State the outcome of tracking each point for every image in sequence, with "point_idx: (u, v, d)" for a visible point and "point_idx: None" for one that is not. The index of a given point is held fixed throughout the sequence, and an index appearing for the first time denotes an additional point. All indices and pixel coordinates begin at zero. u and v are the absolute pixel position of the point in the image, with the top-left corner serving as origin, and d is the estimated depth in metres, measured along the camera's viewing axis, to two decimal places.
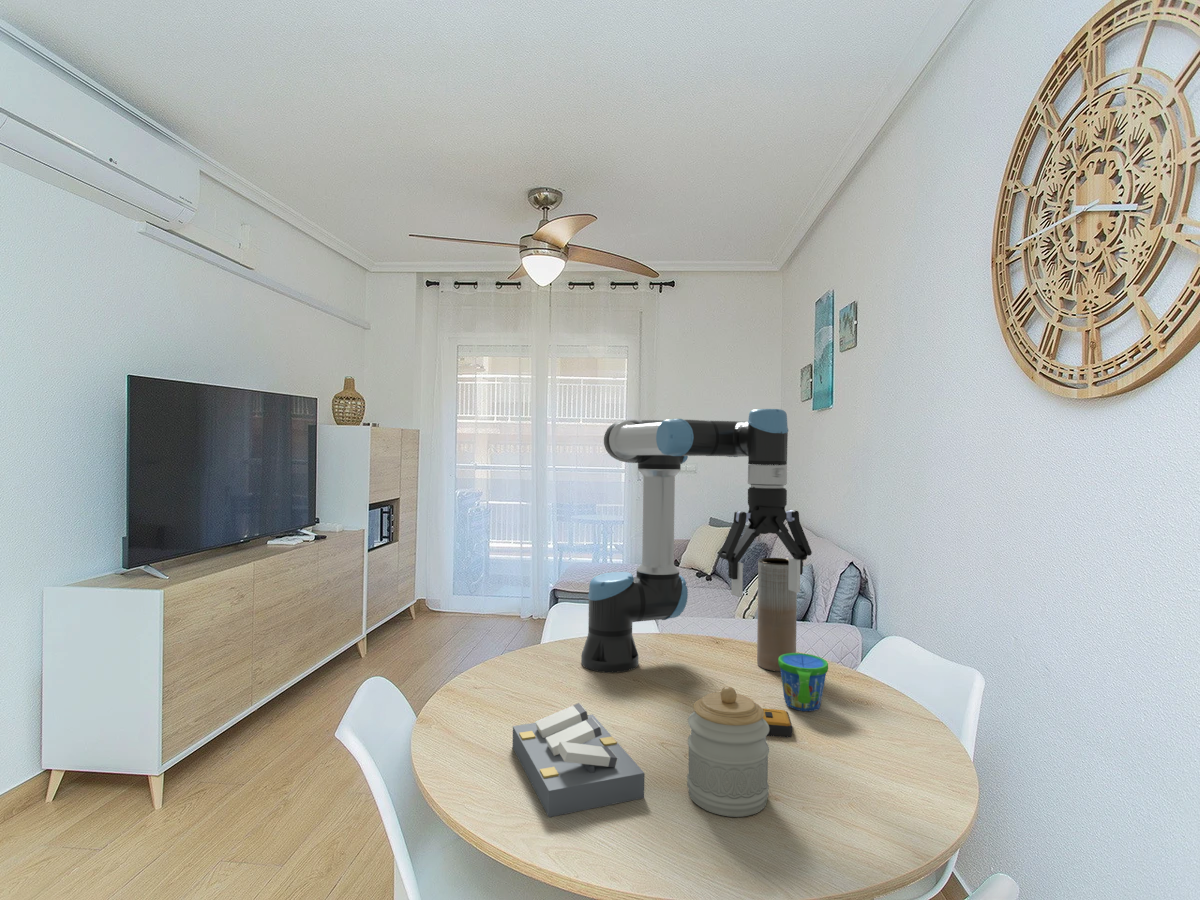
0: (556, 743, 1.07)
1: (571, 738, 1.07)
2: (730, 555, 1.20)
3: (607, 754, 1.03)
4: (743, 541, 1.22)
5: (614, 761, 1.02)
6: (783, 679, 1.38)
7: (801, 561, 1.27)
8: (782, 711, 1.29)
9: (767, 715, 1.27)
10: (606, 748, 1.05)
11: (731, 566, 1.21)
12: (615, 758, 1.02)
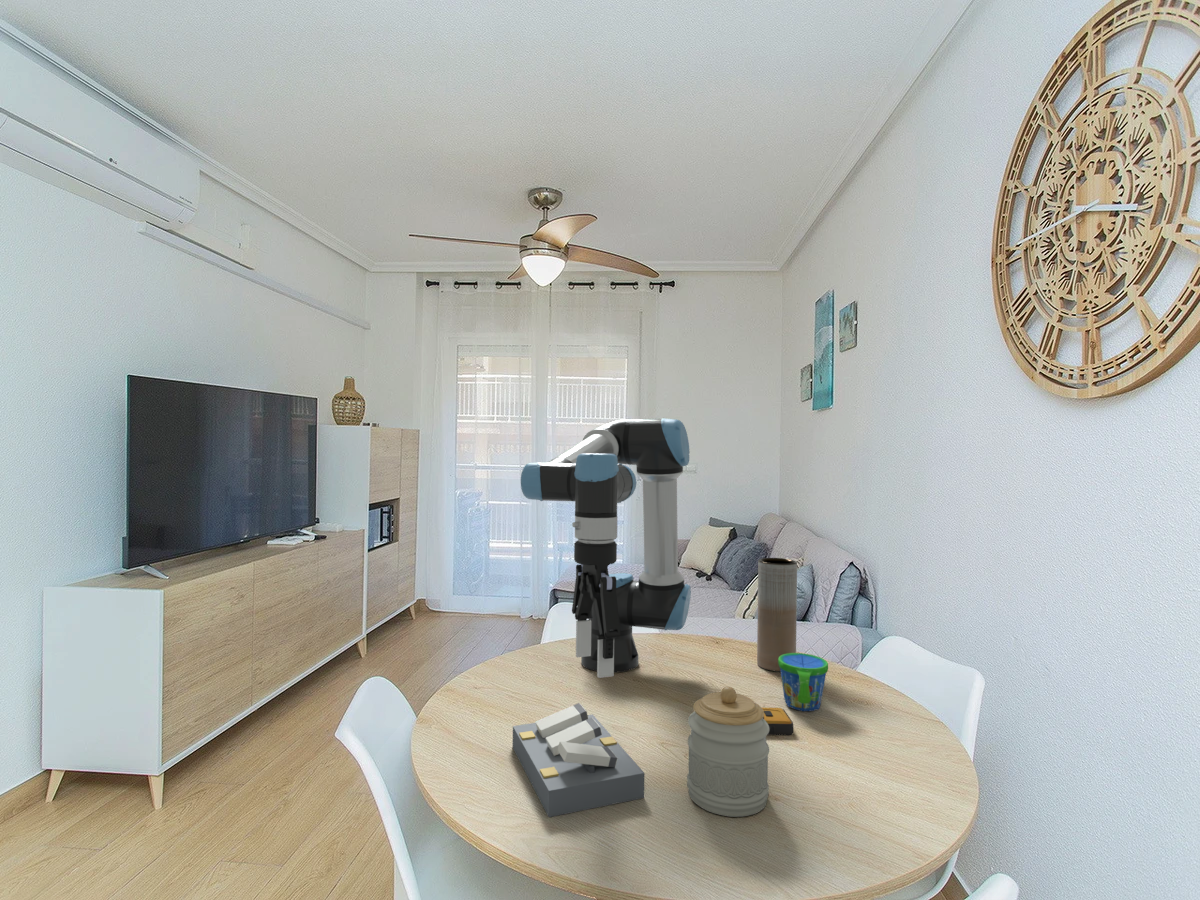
0: (556, 743, 1.07)
1: (571, 738, 1.07)
2: (573, 609, 1.17)
3: (607, 754, 1.03)
4: None
5: (614, 761, 1.02)
6: (783, 679, 1.38)
7: (604, 642, 1.04)
8: (779, 709, 1.30)
9: (767, 714, 1.27)
10: (606, 748, 1.05)
11: None
12: (615, 758, 1.02)
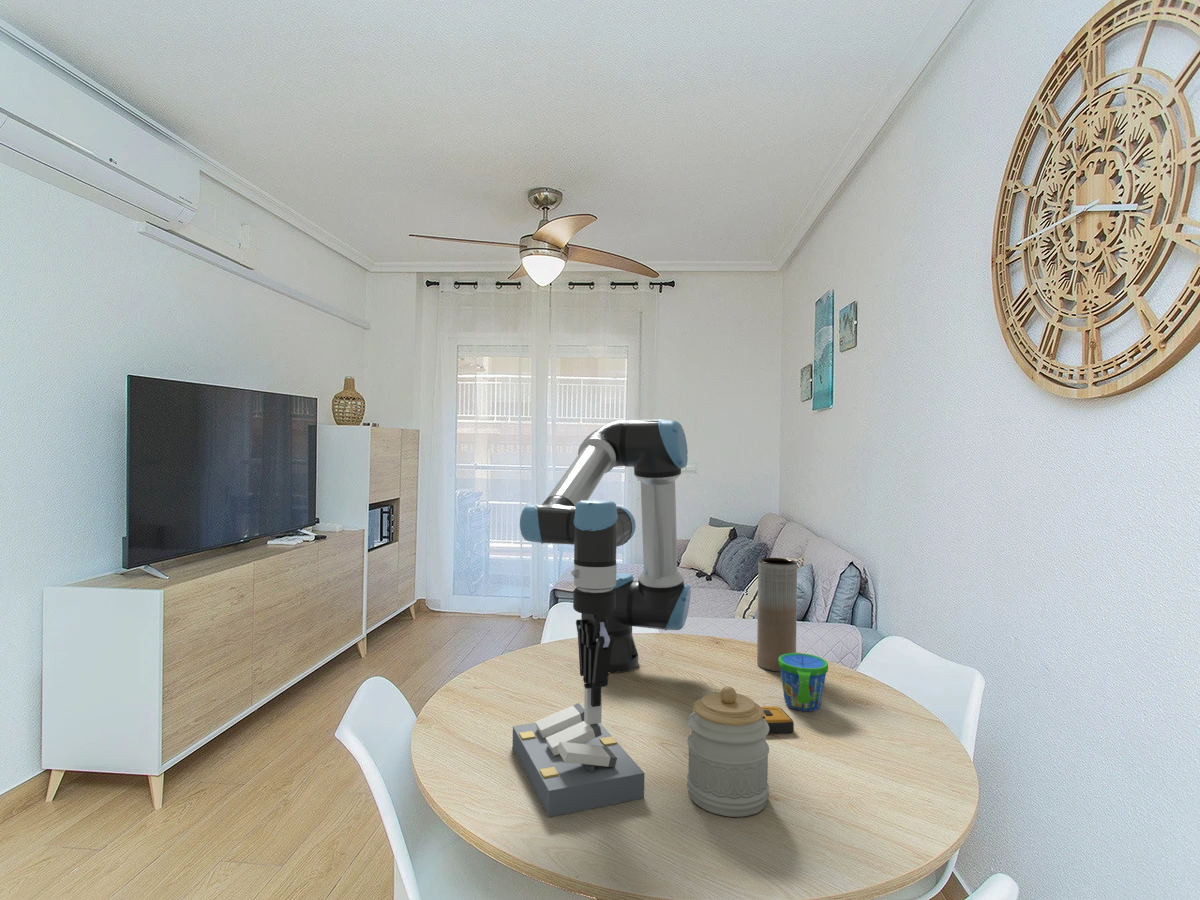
0: (556, 743, 1.07)
1: (571, 738, 1.07)
2: (581, 670, 1.13)
3: (607, 754, 1.03)
4: None
5: (614, 761, 1.02)
6: (783, 679, 1.38)
7: (592, 691, 1.08)
8: (777, 707, 1.31)
9: (767, 713, 1.27)
10: (606, 748, 1.05)
11: None
12: (615, 758, 1.02)
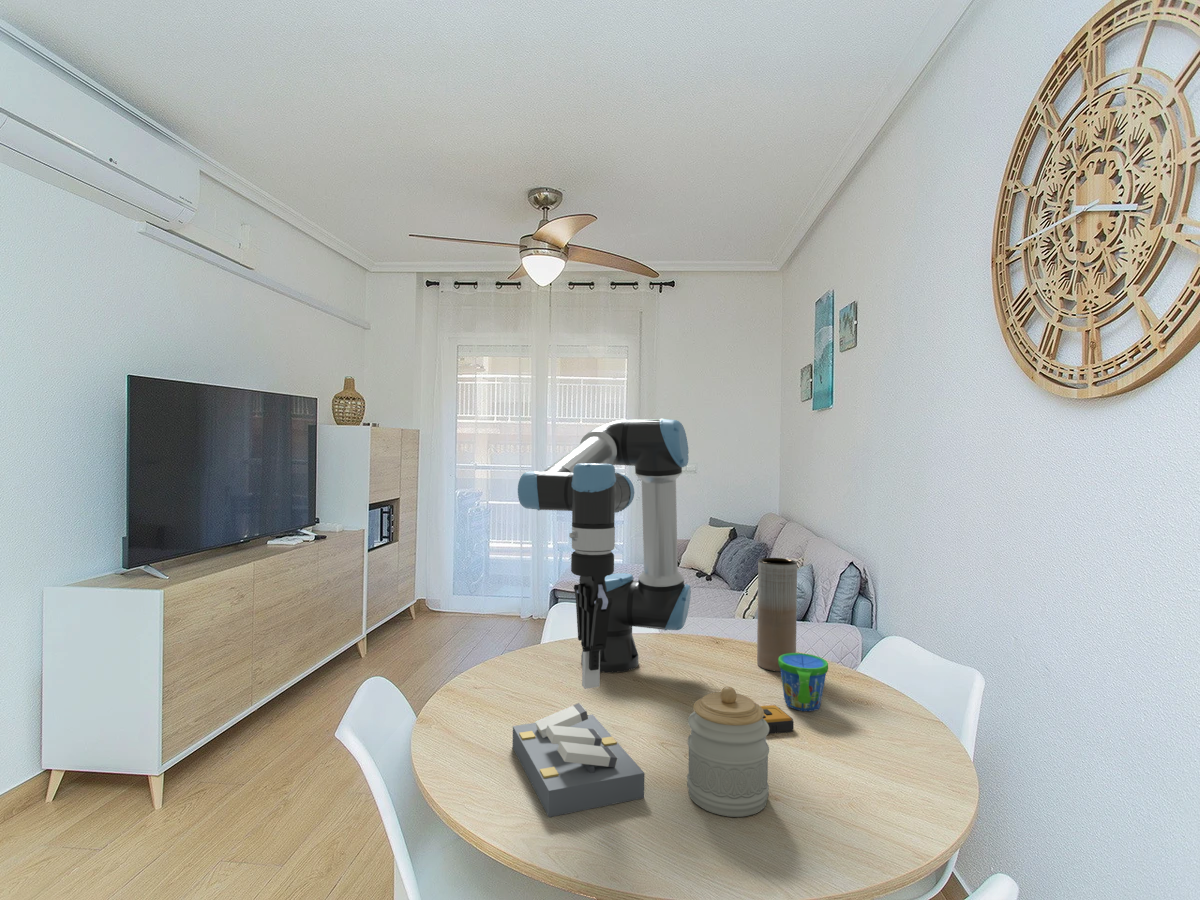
0: (558, 732, 1.07)
1: (573, 735, 1.07)
2: (579, 634, 1.12)
3: (607, 754, 1.03)
4: None
5: (614, 761, 1.02)
6: (783, 679, 1.38)
7: (590, 654, 1.08)
8: (774, 706, 1.31)
9: (766, 713, 1.28)
10: (606, 748, 1.05)
11: None
12: (615, 758, 1.02)
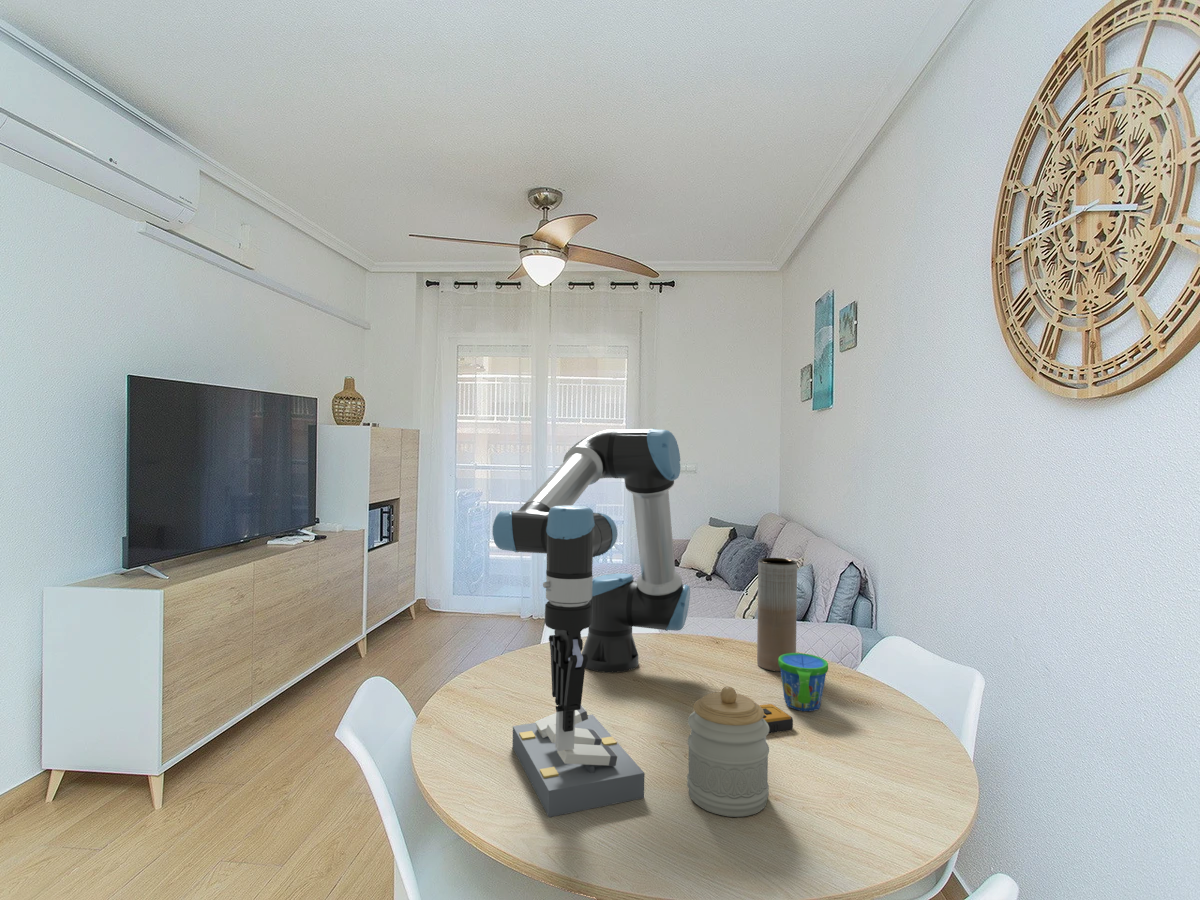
0: None
1: None
2: (553, 690, 1.03)
3: (607, 753, 1.03)
4: None
5: (614, 760, 1.02)
6: (783, 679, 1.38)
7: (564, 714, 0.99)
8: (771, 705, 1.32)
9: (766, 712, 1.28)
10: (606, 747, 1.05)
11: None
12: (615, 756, 1.02)
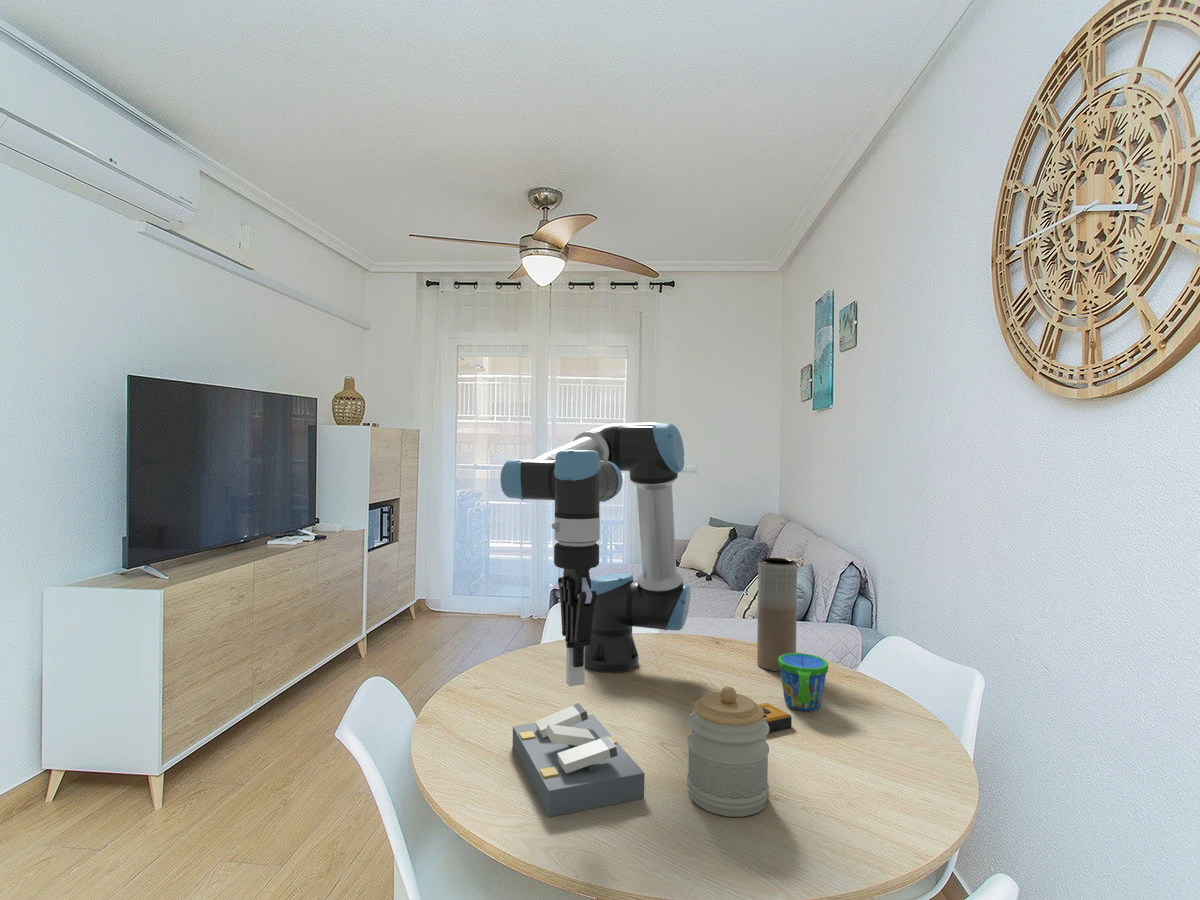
0: (558, 732, 1.07)
1: (573, 735, 1.07)
2: (563, 629, 1.06)
3: (606, 746, 1.02)
4: None
5: (614, 751, 1.02)
6: (783, 679, 1.38)
7: (575, 651, 1.02)
8: (768, 704, 1.33)
9: (765, 711, 1.28)
10: (605, 739, 1.05)
11: None
12: (614, 747, 1.02)
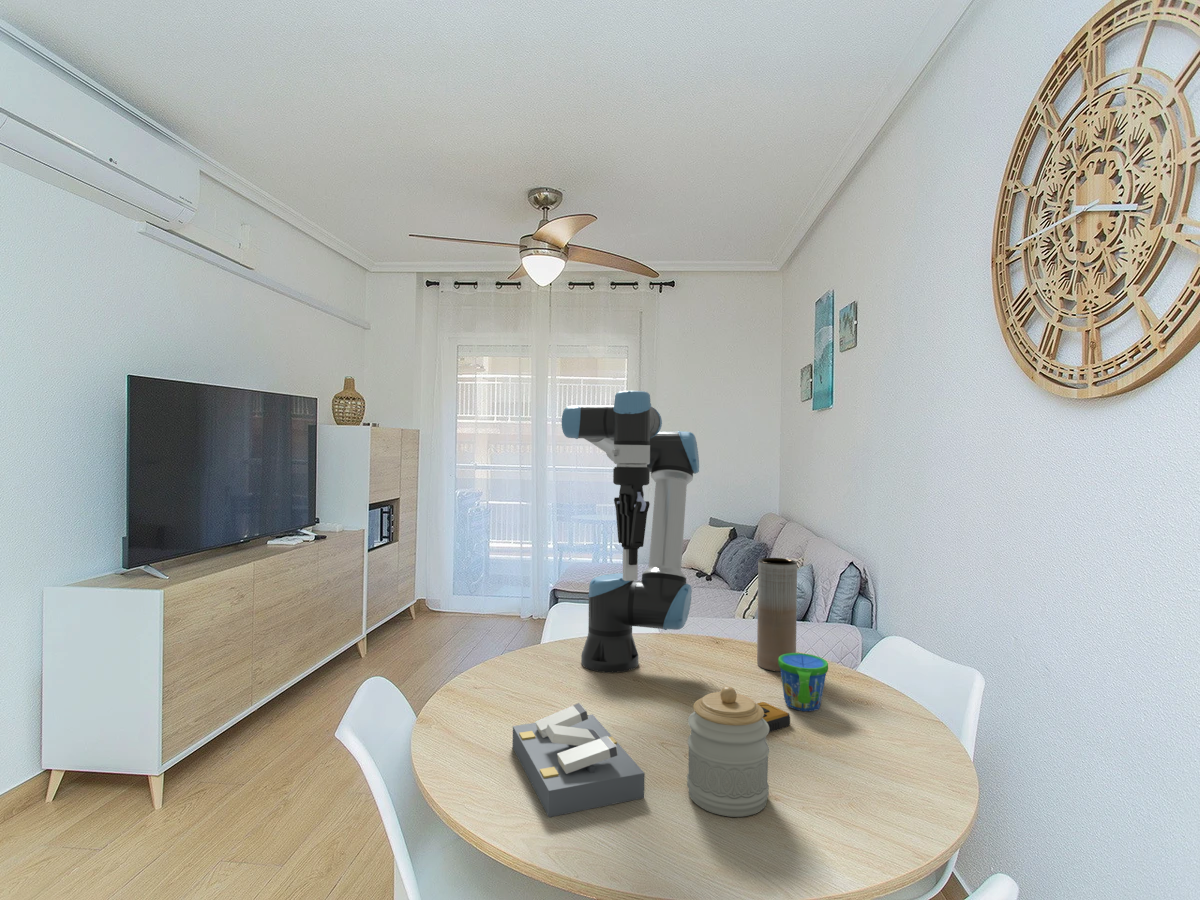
0: (558, 732, 1.07)
1: (573, 735, 1.07)
2: (619, 538, 1.32)
3: (606, 746, 1.02)
4: None
5: (614, 750, 1.02)
6: (783, 679, 1.38)
7: (630, 552, 1.27)
8: (764, 703, 1.33)
9: (764, 711, 1.29)
10: (605, 738, 1.05)
11: None
12: (614, 747, 1.02)
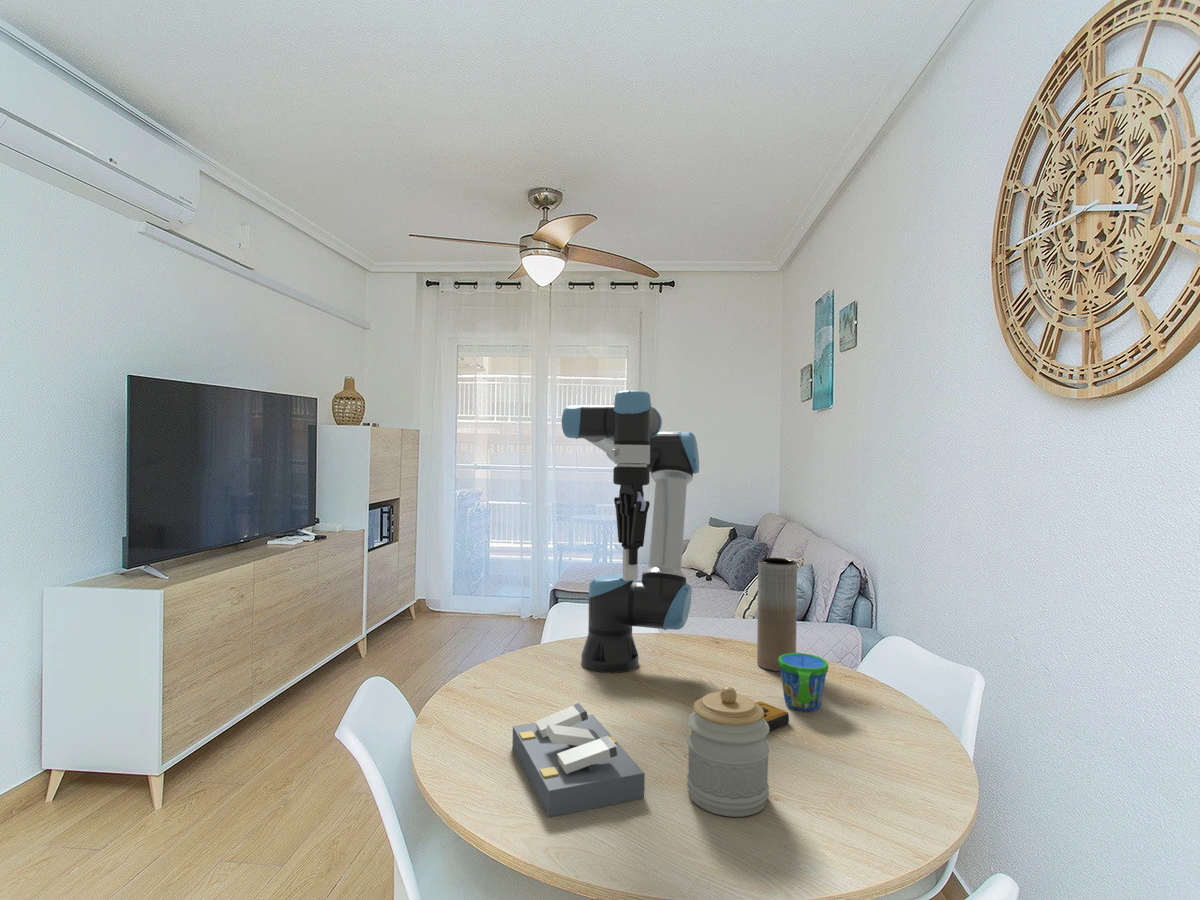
0: (558, 732, 1.07)
1: (573, 735, 1.07)
2: (619, 538, 1.32)
3: (606, 746, 1.02)
4: None
5: (614, 750, 1.02)
6: (783, 679, 1.38)
7: (630, 551, 1.28)
8: (762, 702, 1.33)
9: (763, 710, 1.29)
10: (605, 738, 1.05)
11: None
12: (614, 747, 1.02)
